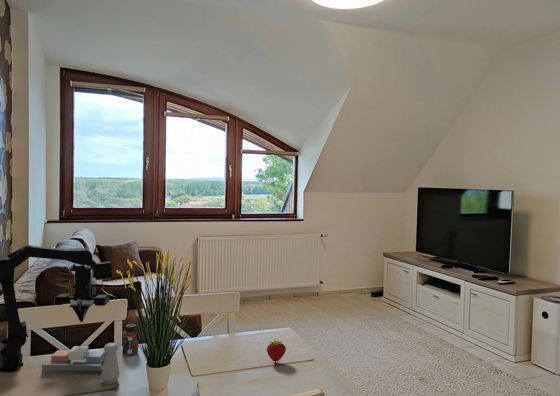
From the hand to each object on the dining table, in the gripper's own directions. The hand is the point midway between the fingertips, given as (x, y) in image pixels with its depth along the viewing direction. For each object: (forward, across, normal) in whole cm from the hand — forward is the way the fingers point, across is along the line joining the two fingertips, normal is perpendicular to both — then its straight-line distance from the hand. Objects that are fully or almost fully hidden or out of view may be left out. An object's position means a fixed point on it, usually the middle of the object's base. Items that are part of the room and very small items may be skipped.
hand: (81, 321), depth 163 cm
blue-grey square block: (+11, -9, +10) cm, 17 cm away
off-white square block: (+9, -3, +10) cm, 14 cm away
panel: (+13, -3, +10) cm, 17 cm away
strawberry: (+13, -75, +4) cm, 76 cm away
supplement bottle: (+13, -18, -2) cm, 22 cm away
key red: (+11, +3, +10) cm, 15 cm away
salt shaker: (+13, -18, +21) cm, 31 cm away
